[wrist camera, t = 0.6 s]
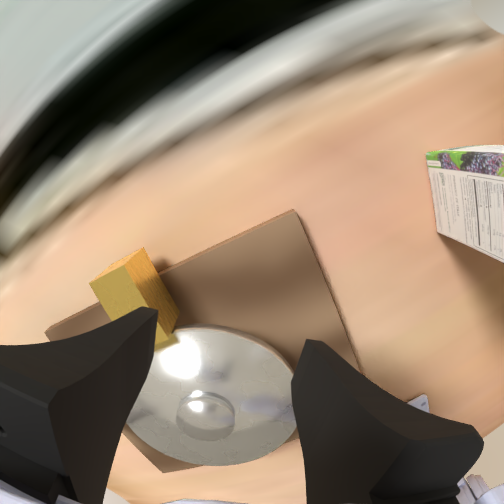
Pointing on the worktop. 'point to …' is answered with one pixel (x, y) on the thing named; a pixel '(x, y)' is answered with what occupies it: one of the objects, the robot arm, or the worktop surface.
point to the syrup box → (470, 196)
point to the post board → (244, 301)
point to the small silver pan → (200, 378)
